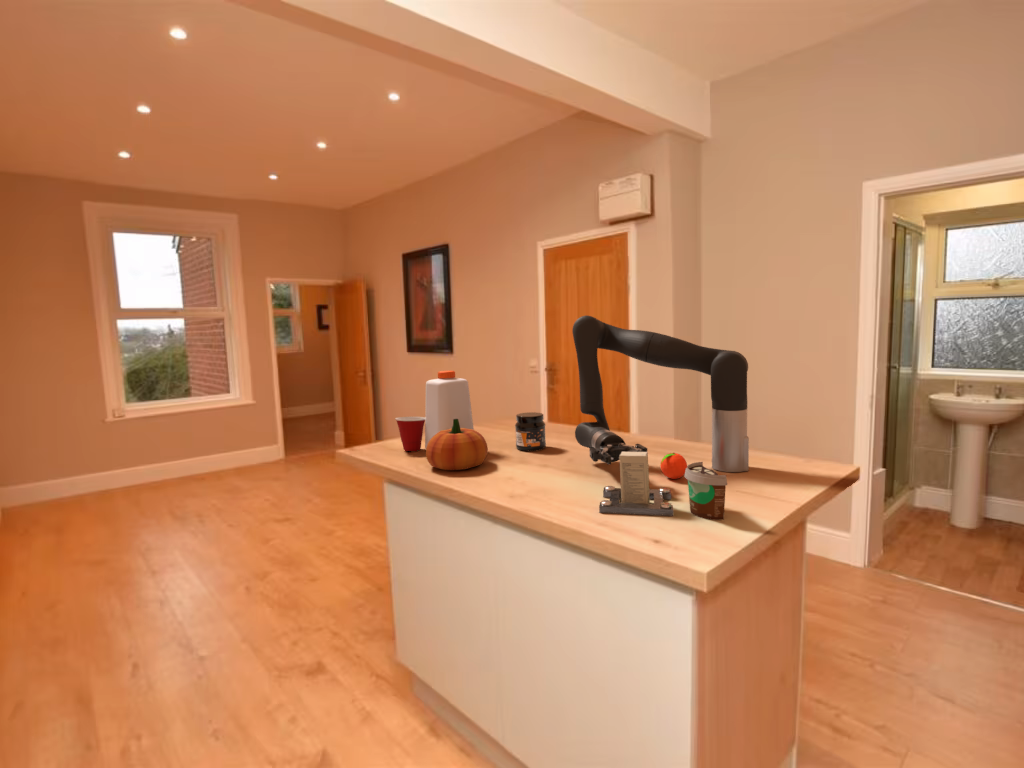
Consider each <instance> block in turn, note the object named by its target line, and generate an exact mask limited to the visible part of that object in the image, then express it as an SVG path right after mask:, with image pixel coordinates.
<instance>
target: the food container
mask: <svg viewBox="0 0 1024 768" xmlns="http://www.w3.org/2000/svg"><path fill="white" fill-rule="evenodd" d="M703 462H704V461H696V462H692V463H689V464H687V468H686V471H685V474H684V475H683V476H684V478H685V479H686V480H687V489H688V502H689V510H690V511H689V512H690V513H691V514H692V515H693V516H695V517H697V518H701V519H706V520H713V521H714V520H715V521H722V520H725V507H726V506H725V503H726V488H727V487H726V486H728V478H727V475H726V474H718V473H717V472H715V471H714V469H709V468H707V467H705V466H704V463H703Z"/></svg>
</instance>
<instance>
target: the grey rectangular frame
mask: <svg viewBox="0 0 1024 768" xmlns="http://www.w3.org/2000/svg"><path fill="white" fill-rule="evenodd" d="M602 491H603V492H602V497H603V498H609V500H608V499H603V500H601V501H599V505H598V506H599V507H598V509H599V512H598V513H599V514H618V515H619V514H621V515H637V516H639V515H640V516H656V517H657V516H658V517H659V516H661V517H674V505H673V504H672V503H670V502H664V500H665V501H672V490H671V489H670V488H669V487H660V488H659V489H656V488H655V489H654V488H653V489H652V488H649V497H650V500H653V504H652V503H649V504H635V503H622V502H620V499H621V487H615V486H613V485H607V486H606V485H605V486H604V488H603V490H602ZM663 499H664V500H663Z"/></svg>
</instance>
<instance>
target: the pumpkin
mask: <svg viewBox="0 0 1024 768" xmlns="http://www.w3.org/2000/svg"><path fill="white" fill-rule="evenodd" d="M488 448H489V447H488V443H487V441H486V439H485V437H484V436H483V434H481V433H480V432H479V431H478V430H475V429H474V430H473V429H467V428H460V425H459V421H458V419H453V427H452V428H451V429H447V430H442V431H440V432H438V433H437V434H435V435H434V436H433V437H432V438H431V439H430V441H429V442H428V444H427V448H426V449H425V457H426V460H427V462H428V463H429V465H430V466H431V467H433V468H436V469H441V470H445V471H463V470H468V469H472V468H475V467H477V466H479V465H480V466H481V465H482V463H484V461H485V460H486V458H487V455H488V452H489V451H488V450H489V449H488Z"/></svg>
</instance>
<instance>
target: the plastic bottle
mask: <svg viewBox="0 0 1024 768" xmlns="http://www.w3.org/2000/svg"><path fill="white" fill-rule="evenodd" d="M424 415H425V416H424V417H425V422H424V426H425V428H424V430H425V431H424V432H425V435H424V436H425V437H424V443H425V444H424V448H425V450H426V448H427V444H428V442H429V441H430V439H431V438H432V437H433V436H434V435H435V434H437V433H438V432H440V431H442V430H447V429H451V428H452V427H453V419H458V421H459V425H460V428H467V429H473V430H475V429H474V420H473V413H472V403H471V395H470V387H469V381H468V380H467V379H466V378H460V377H456V371H455V370H440V371H438V372H437V378H433V379H429V380H427V381H426V382H425V414H424Z"/></svg>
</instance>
